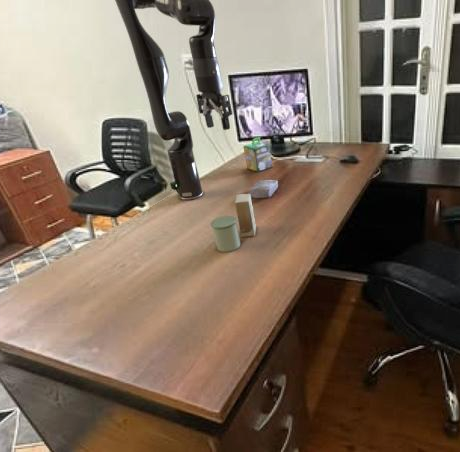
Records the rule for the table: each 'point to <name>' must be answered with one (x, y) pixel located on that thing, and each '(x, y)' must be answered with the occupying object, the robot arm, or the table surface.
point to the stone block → (263, 189)
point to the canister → (226, 233)
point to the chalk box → (257, 155)
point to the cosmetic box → (245, 215)
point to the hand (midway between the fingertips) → (218, 128)
